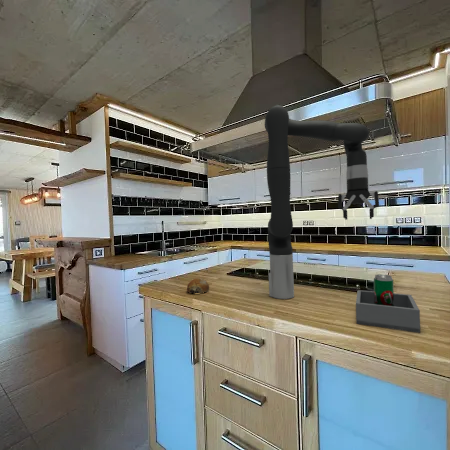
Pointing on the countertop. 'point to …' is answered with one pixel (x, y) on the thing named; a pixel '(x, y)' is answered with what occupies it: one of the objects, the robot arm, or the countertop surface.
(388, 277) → the soda can
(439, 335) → the countertop surface
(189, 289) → the bread roll
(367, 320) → the bin
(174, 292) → the countertop surface
